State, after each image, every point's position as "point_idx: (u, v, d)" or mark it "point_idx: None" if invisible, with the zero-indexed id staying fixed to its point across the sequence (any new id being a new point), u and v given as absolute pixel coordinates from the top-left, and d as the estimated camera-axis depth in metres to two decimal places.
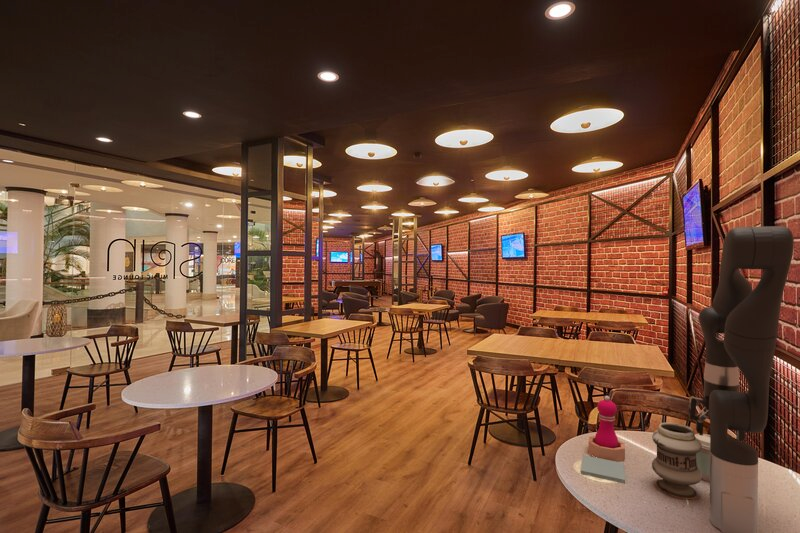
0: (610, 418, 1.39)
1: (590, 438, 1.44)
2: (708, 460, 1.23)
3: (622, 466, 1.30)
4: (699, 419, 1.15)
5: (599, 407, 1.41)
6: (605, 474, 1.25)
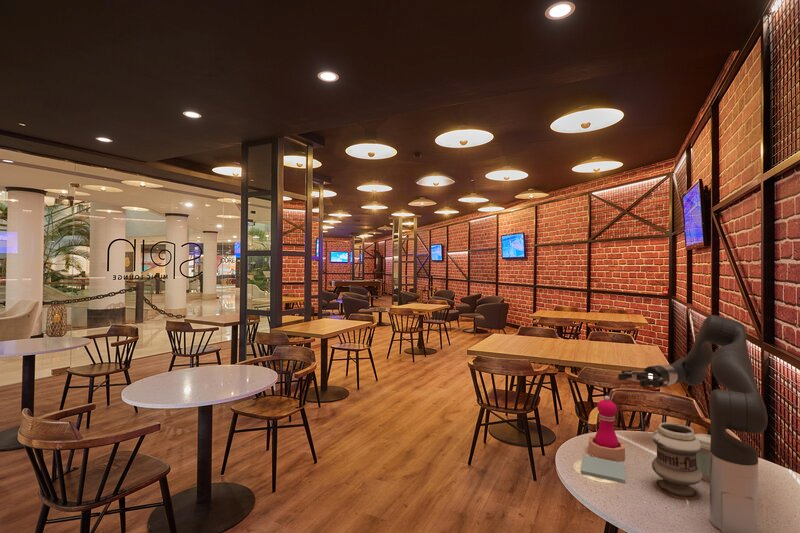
0: (610, 418, 1.39)
1: (590, 438, 1.44)
2: (708, 460, 1.23)
3: (622, 466, 1.30)
4: (626, 372, 1.52)
5: (599, 407, 1.41)
6: (605, 474, 1.25)
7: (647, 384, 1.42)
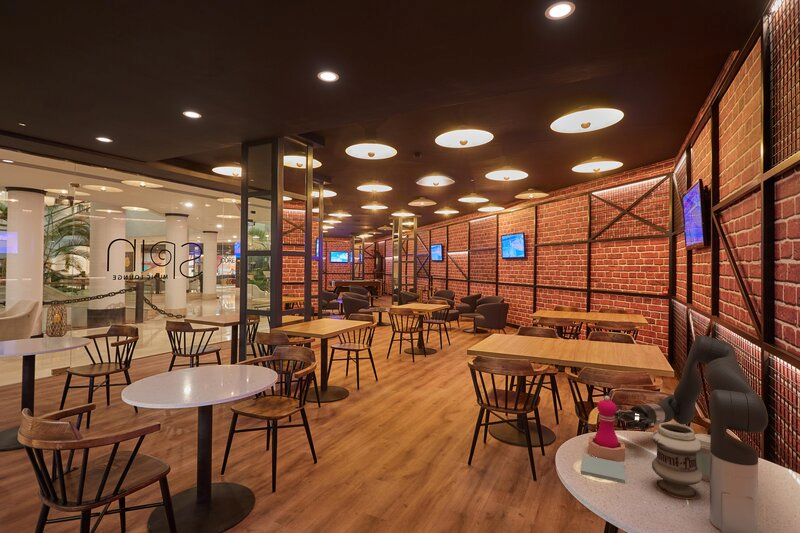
0: (610, 418, 1.39)
1: (590, 438, 1.44)
2: (708, 460, 1.23)
3: (622, 466, 1.30)
4: None
5: (599, 407, 1.41)
6: (605, 474, 1.25)
7: (633, 426, 1.39)
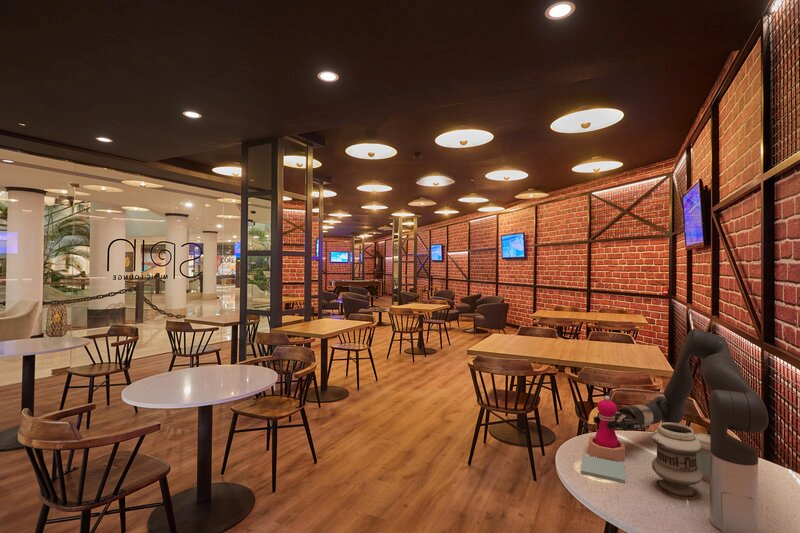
0: (610, 418, 1.39)
1: (590, 438, 1.44)
2: (708, 460, 1.23)
3: (622, 466, 1.30)
4: None
5: (599, 407, 1.41)
6: (605, 474, 1.25)
7: (614, 427, 1.38)
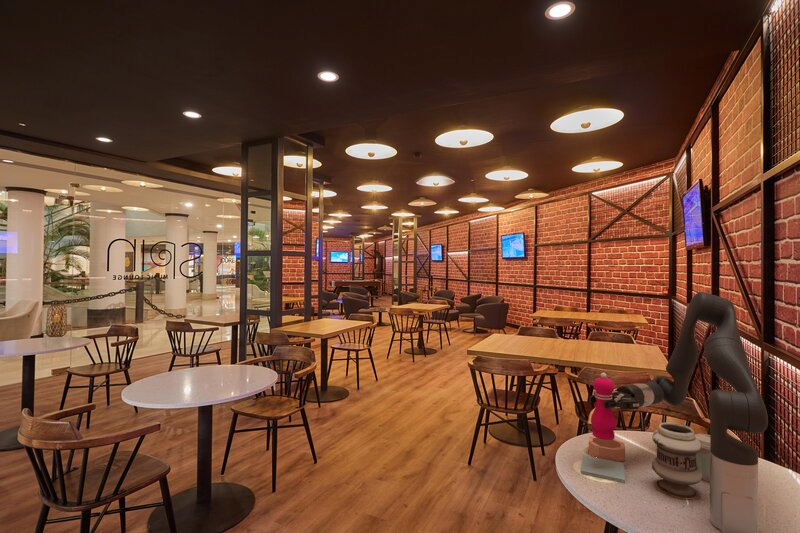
0: (607, 397, 1.28)
1: (590, 438, 1.44)
2: (708, 460, 1.23)
3: (622, 466, 1.30)
4: None
5: (595, 385, 1.29)
6: (605, 474, 1.25)
7: (611, 406, 1.26)
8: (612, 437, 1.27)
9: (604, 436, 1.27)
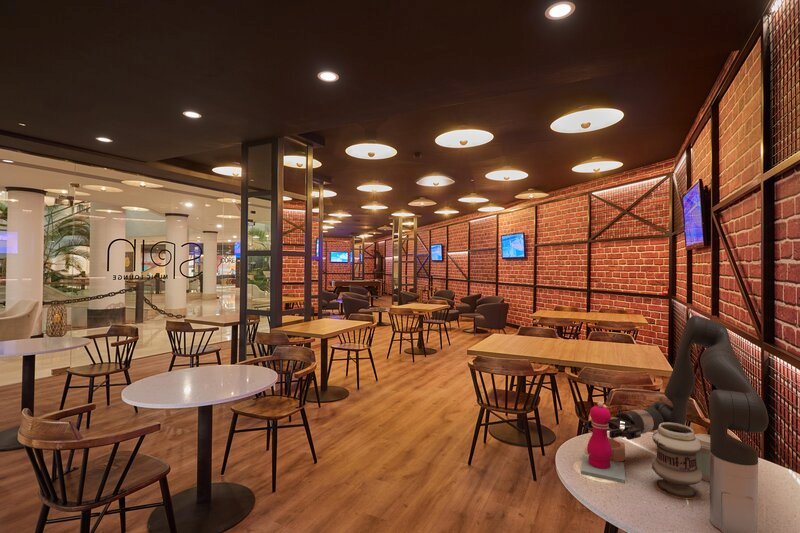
0: (603, 426, 1.29)
1: None
2: (708, 460, 1.23)
3: (622, 466, 1.30)
4: None
5: (592, 414, 1.31)
6: (605, 474, 1.25)
7: (617, 435, 1.25)
8: (608, 466, 1.29)
9: (600, 465, 1.29)
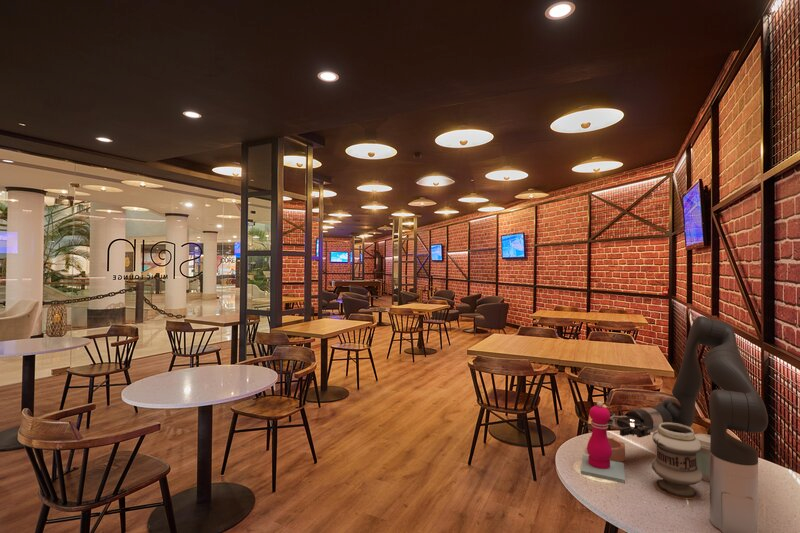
0: (603, 426, 1.29)
1: None
2: (708, 460, 1.23)
3: (622, 466, 1.30)
4: None
5: (591, 414, 1.31)
6: (605, 474, 1.25)
7: (628, 433, 1.27)
8: (608, 466, 1.29)
9: (600, 465, 1.29)
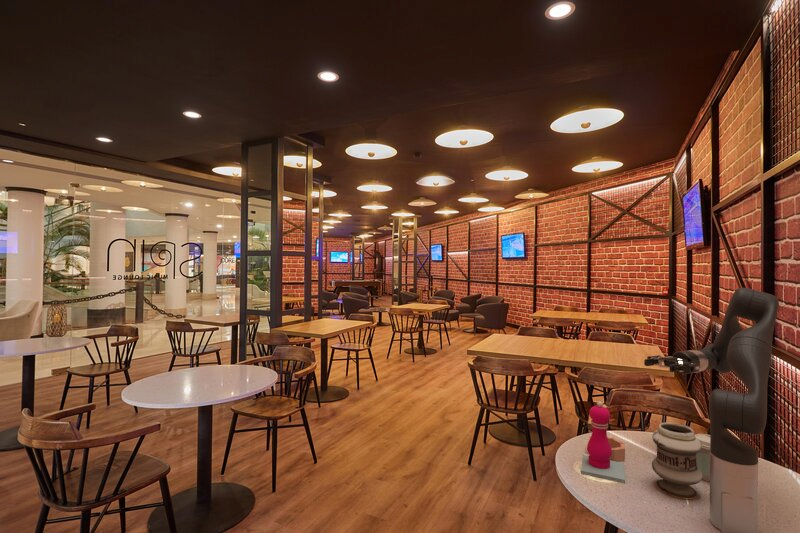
0: (603, 426, 1.29)
1: None
2: (708, 460, 1.23)
3: (622, 466, 1.30)
4: (653, 357, 1.41)
5: (591, 414, 1.31)
6: (605, 474, 1.25)
7: (677, 369, 1.31)
8: (608, 466, 1.29)
9: (600, 465, 1.29)
